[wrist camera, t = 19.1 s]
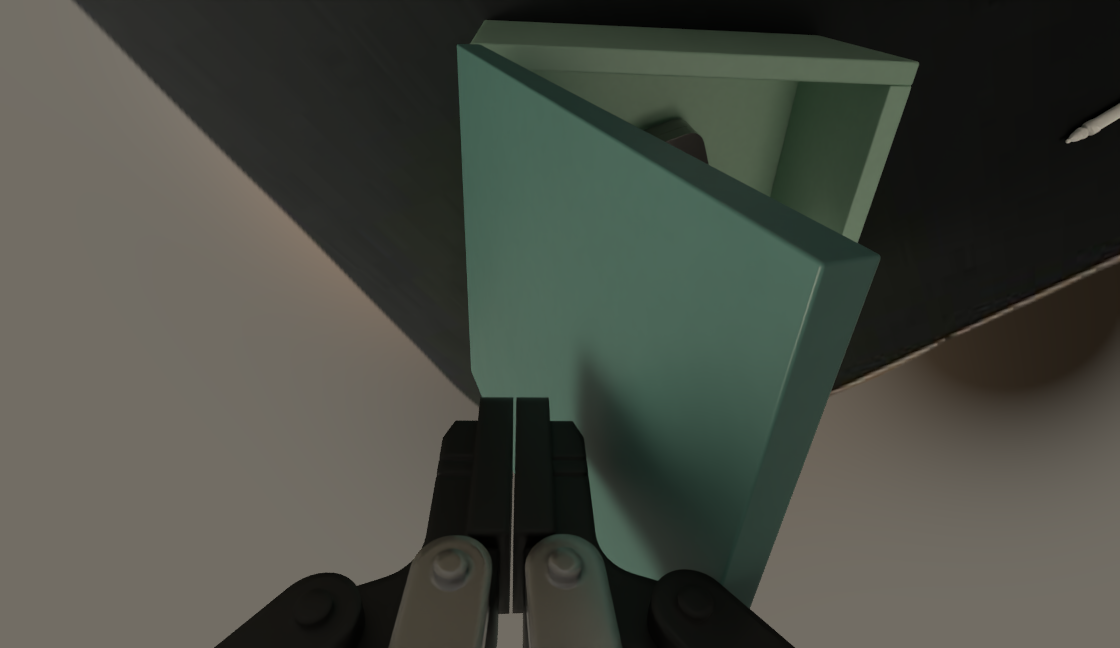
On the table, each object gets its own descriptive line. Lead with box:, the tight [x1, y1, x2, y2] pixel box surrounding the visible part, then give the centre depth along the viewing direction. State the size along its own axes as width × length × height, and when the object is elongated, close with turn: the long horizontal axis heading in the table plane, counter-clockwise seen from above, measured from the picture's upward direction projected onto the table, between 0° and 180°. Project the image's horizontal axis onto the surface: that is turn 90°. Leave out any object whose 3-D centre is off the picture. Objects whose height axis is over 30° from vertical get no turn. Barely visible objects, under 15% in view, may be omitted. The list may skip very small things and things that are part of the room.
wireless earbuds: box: [644, 119, 709, 165], centre depth 28 cm, size 5×7×3 cm, turn 19°
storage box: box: [471, 20, 919, 243], centre depth 27 cm, size 16×13×8 cm
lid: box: [457, 44, 880, 609], centre depth 16 cm, size 16×13×1 cm
